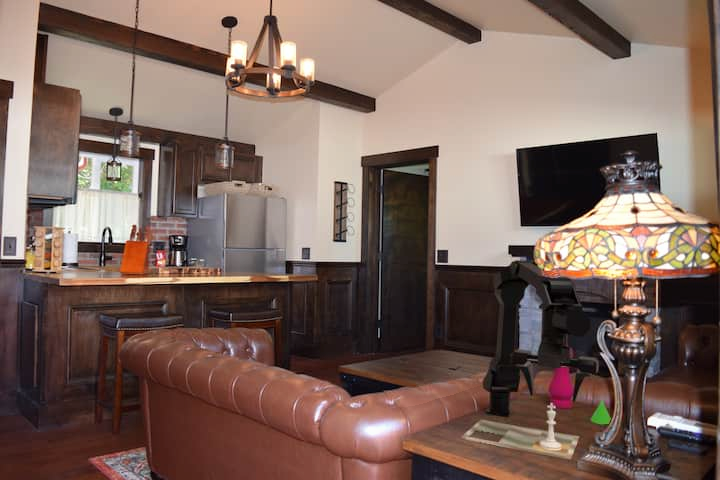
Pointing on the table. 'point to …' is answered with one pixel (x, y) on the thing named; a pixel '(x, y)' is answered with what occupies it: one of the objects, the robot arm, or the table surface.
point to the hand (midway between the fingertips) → (552, 398)
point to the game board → (524, 438)
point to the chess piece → (550, 432)
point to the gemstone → (601, 415)
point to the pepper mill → (561, 387)
